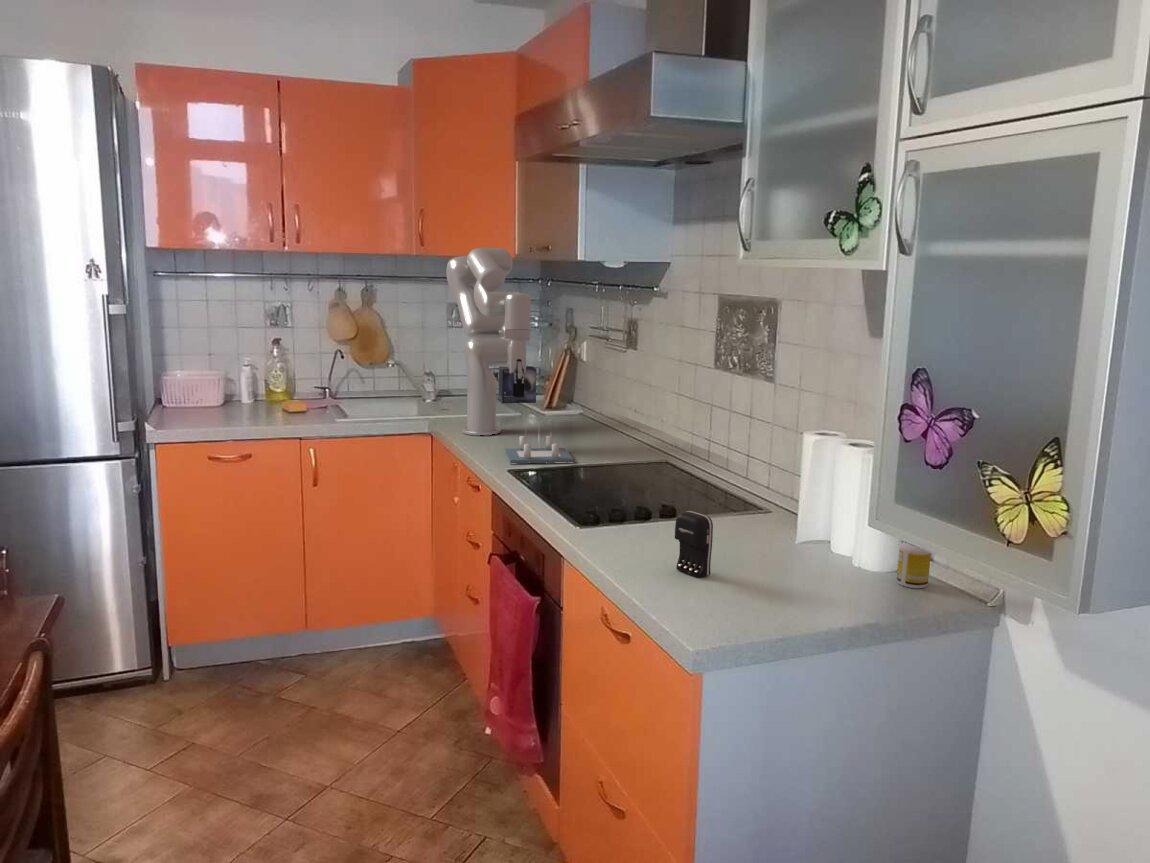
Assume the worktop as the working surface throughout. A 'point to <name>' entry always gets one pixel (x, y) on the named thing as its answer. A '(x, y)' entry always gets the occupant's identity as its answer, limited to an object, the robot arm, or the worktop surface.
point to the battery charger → (694, 543)
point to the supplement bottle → (913, 566)
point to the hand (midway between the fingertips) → (517, 394)
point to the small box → (507, 386)
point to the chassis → (538, 453)
